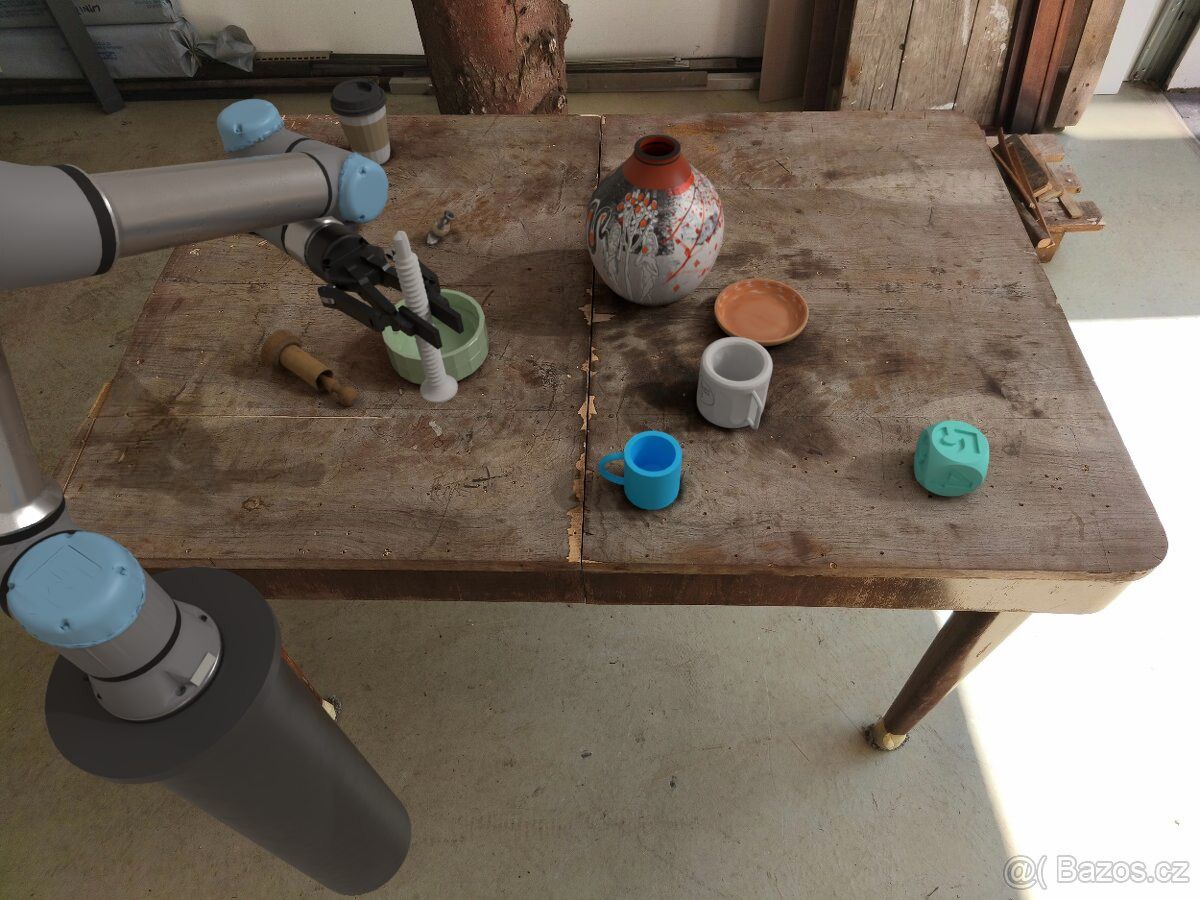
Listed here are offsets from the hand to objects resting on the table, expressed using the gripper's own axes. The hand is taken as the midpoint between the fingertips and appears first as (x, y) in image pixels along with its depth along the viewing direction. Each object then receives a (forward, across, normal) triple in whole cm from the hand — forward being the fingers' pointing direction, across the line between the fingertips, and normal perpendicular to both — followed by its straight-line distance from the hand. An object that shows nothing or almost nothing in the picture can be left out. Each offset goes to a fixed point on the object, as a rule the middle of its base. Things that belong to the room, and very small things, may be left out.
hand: (449, 331), depth 95 cm
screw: (-5, 0, -14) cm, 15 cm away
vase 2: (-10, -50, -32) cm, 60 cm away
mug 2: (+19, -36, -32) cm, 52 cm away
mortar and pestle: (-45, +5, -28) cm, 53 cm away
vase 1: (-49, -35, -32) cm, 68 cm away
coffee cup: (-82, -44, -32) cm, 98 cm away
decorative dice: (+50, -46, -32) cm, 75 cm away
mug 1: (+17, -15, -32) cm, 39 cm away
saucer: (+10, -56, -32) cm, 65 cm away
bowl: (-26, -14, -32) cm, 43 cm away
